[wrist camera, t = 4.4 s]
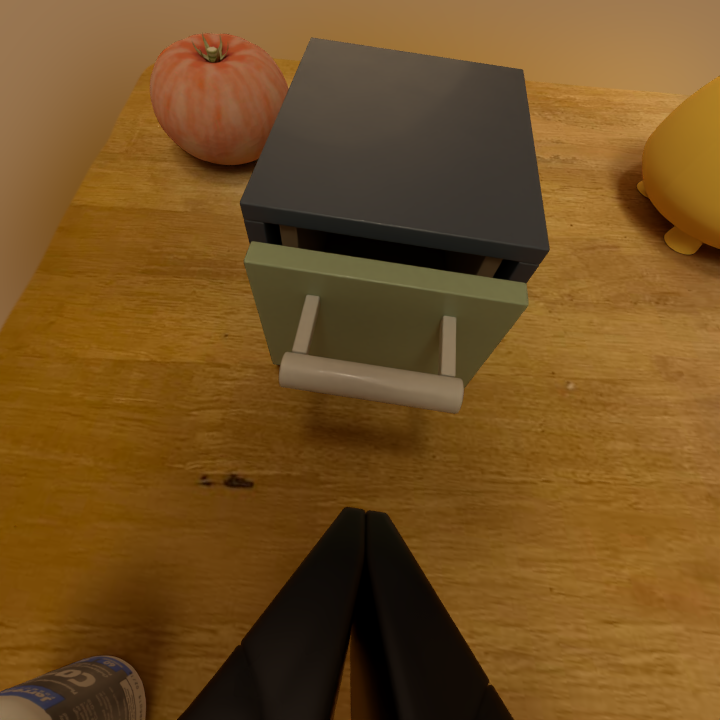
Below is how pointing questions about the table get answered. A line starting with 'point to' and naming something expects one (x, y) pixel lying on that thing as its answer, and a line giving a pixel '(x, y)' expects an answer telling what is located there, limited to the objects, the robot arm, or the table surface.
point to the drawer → (379, 316)
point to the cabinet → (403, 156)
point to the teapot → (687, 171)
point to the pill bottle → (79, 693)
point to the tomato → (217, 96)
